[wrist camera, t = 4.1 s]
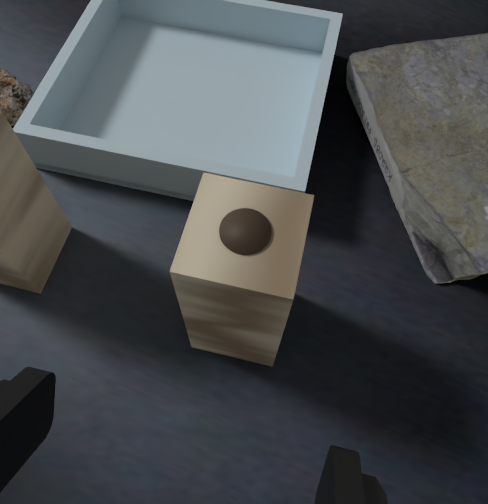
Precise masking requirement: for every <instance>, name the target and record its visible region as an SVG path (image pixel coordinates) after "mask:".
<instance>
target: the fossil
mask: <svg viewBox="0 0 488 504" xmlns="http://www.w3.org/2000/svg"><path fill="white" fill-rule="evenodd" d="M346 83H347V89H348V91H349V94H350V96H351V99H352V101H353V104H354V106H355V108H356V111H357V113H358V115H359V117H360V119H361V122H362V124H363V127H364V129H365V132H366V134H367V136H368V138H369V141H370V144H371V146H372V148H373V150H374V153H375V155H376V158H377V160H378V163H379V166H380V168H381V170H382V172H383V175H384V178H385V180H386V182H387V184H388V186H389V190H390V193H391V196H392V198H393V201H394V203H395V206H396V208H397V210H398V212H399V214H400V217H401V219H402V221H403V223H404V225H405V228H406V230H407V232H408V234H409V236H410V239H411V241H412V244H413V246H414V248H415V250H416V252H417V255H418V257H419V259H420V261H421V264H422V266H423V268H424V270H425V272H426V274H427V276H428V277H429V278H430V279H431V280H432V281H433V282H434V283H435V284H440V283H450V282H452V281H455V280H469V279H473V278H475V277H478V276H480V275H482V274H486V273H488V33H485V34H477V35H468V36H461V37H453V38H447V39H438V40H426V41H417V42H412V43H405V44H396V45H389V46H385V47H382V48H373V49H369V50H367V51H362V52H356V53H352V54H351V55H350V57H349V60H348V64H347V79H346Z"/></svg>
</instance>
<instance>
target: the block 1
mask: <svg viewBox="0 0 488 504" xmlns="http://www.w3.org/2000/svg"><path fill="white" fill-rule="evenodd" d="M71 229H72V226H71V225H70V223H69V221H68V220H67V218H66V216H65V215H64V213H63V211H62V210H61V208H60V206H59V205H58V203H57V202H56V200H55V198H54V197H53V195H52V193H51V192H50V190H49V188H48V187H47V185H46V183H45V182H44V180H43V178H42V177H41V175H40V173H39V172H38V170H37V169H36V167H35V165H34V164H33V162H32V160H31V159H30V157H29V155H28V154H27V152H26V150H25V149H24V147H23V145H22V144H21V142H20V140H19V139H18V137H17V136H16V134H15V132H14V131H13V129H12V127H11V126H10V124H9V122H8V121H7V119H6V117H5V116H4V114H3V112H2V111H0V284H3V285H7V286H11V287H15V288H20V289H24V290H28V291H32V292H36V293H41V292H42V290H43V288H44V286H45V284H46V282H47V280H48V277H49V275H50V273H51V271H52V269H53V267H54V265H55V263H56V260H57V258H58V256H59V254H60V252H61V250H62V248H63V246H64V244H65V241H66V239H67V237H68V235H69V233H70V231H71Z"/></svg>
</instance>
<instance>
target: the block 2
mask: <svg viewBox="0 0 488 504" xmlns="http://www.w3.org/2000/svg"><path fill="white" fill-rule="evenodd" d="M313 199H314V195H311V194H306V193H301V192H297V191H292V190H287V189H282V188H277V187H272V186H267V185H262V184H257V183H253V182H248V181H243V180H238V179H233V178H228V177H223V176H218V175H214V174H209V173H204V172H203V175H202V178H201V181H200V184H199V187H198V190H197V193H196V196H195V199H194V202H193V205H192V208H191V210H190V213H189V216H188V219H187V222H186V225H185V228H184V231H183V234H182V237H181V240H180V243H179V246H178V249H177V251H176V254H175V257H174V260H173V263H172V266H171V269H170V275H171V278H172V282H173V285H174V288H175V292H176V295H177V299H178V302H179V306H180V309H181V313H182V316H183V319H184V323H185V326H186V330H187V333H188V337H189V340H190V344H191V347H192V348H197V349H201V350H205V351H209V352H213V353H218V354H222V355H226V356H230V357H234V358H238V359H243V360H247V361H251V362H255V363H259V364H263V365H268V366H272V367H273V364H274V361H275V357H276V354H277V351H278V348H279V345H280V341H281V338H282V335H283V332H284V328H285V325H286V322H287V319H288V316H289V312H290V309H291V306H292V303H293V299H294V294H295V289H296V284H297V279H298V274H299V269H300V264H301V259H302V254H303V249H304V244H305V239H306V234H307V229H308V224H309V219H310V214H311V209H312V204H313Z"/></svg>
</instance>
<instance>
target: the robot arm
mask: <svg viewBox="0 0 488 504" xmlns="http://www.w3.org/2000/svg"><path fill="white" fill-rule="evenodd" d="M55 382H56V378H55V374H54V373H52V372H48V371H44V370H40V369H36V368H32V367H26V368H25V369H23V370H22V371H21V372H20V373H19V374H18V375H17V376H15V377H14V378H13V379H12V380H11V381H8V380H2V381H0V492H1V491H2V490H3V488H4V487H5V486H6V485H7V484H8V482H9V481H10V480H11V479H12V478H13V476H14V475H15V474H16V473H17V472H18V470H19V469H20V468H21V467H22V466H23V464H24V463H25V462H26V461H27V460H28V458H29V457H30V456H31V455H32V454H33V452H34V451H35V450H36V449H37V448H38V446H39V445H40V444H41V443H42V442H43V440H44V439H45V438H46V436H47V434H48V432H49V430H50V428H51V425H52V421H53V414H54V398H55ZM315 504H388V502H387V496H386V493H385V492H384V490H383V488H382V487H381V485H380V484H379V482H378V480H377V479H376V477H373V476H369V475H366V474H362V472H361V464H360V456H359V452H357V451H353V450H349V449H345V448H341V447H337V446H333V445H331V446H330V448H329V451H328V454H327V458H326V461H325V465H324V468H323V471H322V475H321V478H320V482H319V485H318V489H317V493H316V498H315Z"/></svg>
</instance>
